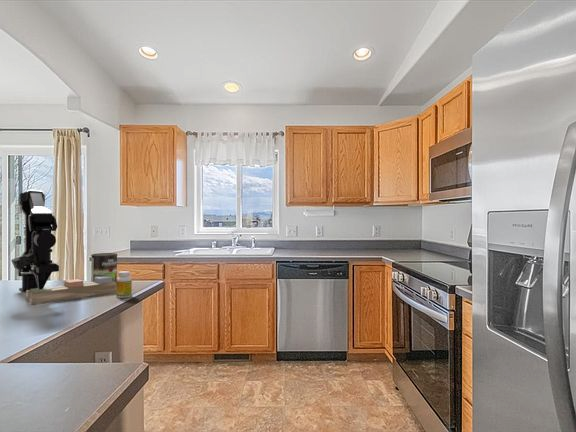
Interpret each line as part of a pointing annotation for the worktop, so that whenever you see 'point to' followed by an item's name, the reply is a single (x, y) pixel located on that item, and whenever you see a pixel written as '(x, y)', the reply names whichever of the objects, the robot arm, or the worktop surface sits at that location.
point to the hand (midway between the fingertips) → (40, 289)
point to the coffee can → (104, 265)
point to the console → (69, 292)
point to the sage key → (40, 289)
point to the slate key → (102, 279)
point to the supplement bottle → (124, 285)
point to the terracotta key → (73, 283)
